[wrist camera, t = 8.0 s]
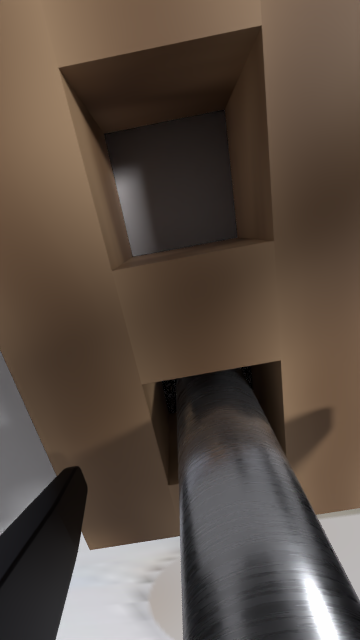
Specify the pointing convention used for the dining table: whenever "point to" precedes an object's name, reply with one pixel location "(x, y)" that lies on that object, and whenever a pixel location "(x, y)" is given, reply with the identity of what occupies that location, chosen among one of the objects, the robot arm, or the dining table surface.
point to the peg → (250, 526)
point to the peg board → (189, 262)
